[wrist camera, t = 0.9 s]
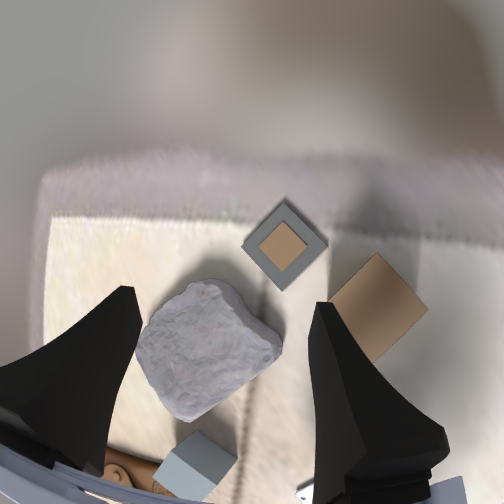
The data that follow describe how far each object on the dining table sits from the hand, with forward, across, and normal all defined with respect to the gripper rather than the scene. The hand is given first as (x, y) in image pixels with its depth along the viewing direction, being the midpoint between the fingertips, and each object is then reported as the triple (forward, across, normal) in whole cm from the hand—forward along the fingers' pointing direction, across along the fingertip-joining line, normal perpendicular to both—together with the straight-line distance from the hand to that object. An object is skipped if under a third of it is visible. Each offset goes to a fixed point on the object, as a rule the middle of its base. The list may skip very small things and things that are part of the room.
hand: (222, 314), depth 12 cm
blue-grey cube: (+2, +3, +23) cm, 24 cm away
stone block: (+10, +3, +13) cm, 17 cm away
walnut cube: (+9, -10, +7) cm, 15 cm away
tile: (+13, -3, +5) cm, 14 cm away
